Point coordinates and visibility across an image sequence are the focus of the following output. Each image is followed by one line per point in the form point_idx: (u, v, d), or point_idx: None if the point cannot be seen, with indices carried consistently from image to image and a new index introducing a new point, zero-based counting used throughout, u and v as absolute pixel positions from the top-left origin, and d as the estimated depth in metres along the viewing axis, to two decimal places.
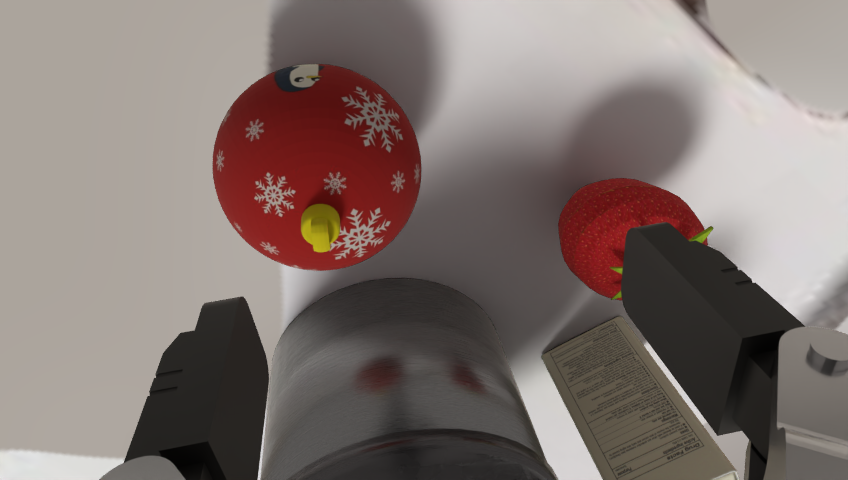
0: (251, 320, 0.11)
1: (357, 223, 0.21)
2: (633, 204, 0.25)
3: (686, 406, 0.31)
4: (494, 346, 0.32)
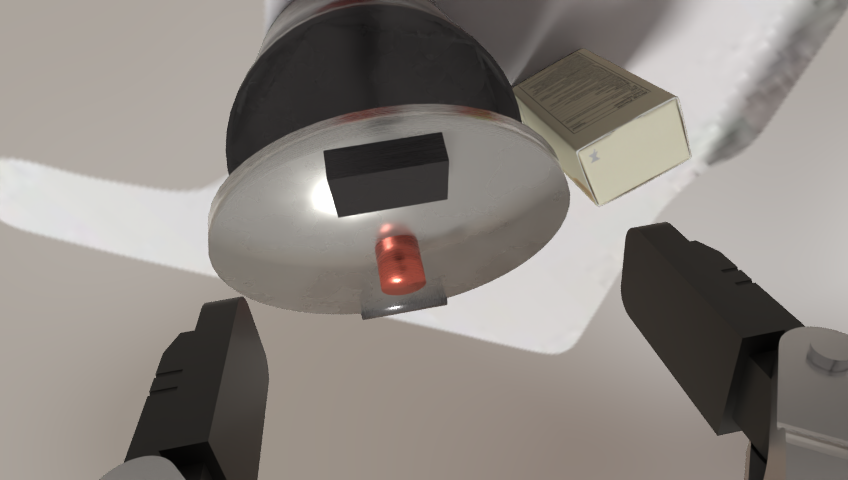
0: (251, 320, 0.11)
1: None
2: None
3: (637, 77, 0.33)
4: None
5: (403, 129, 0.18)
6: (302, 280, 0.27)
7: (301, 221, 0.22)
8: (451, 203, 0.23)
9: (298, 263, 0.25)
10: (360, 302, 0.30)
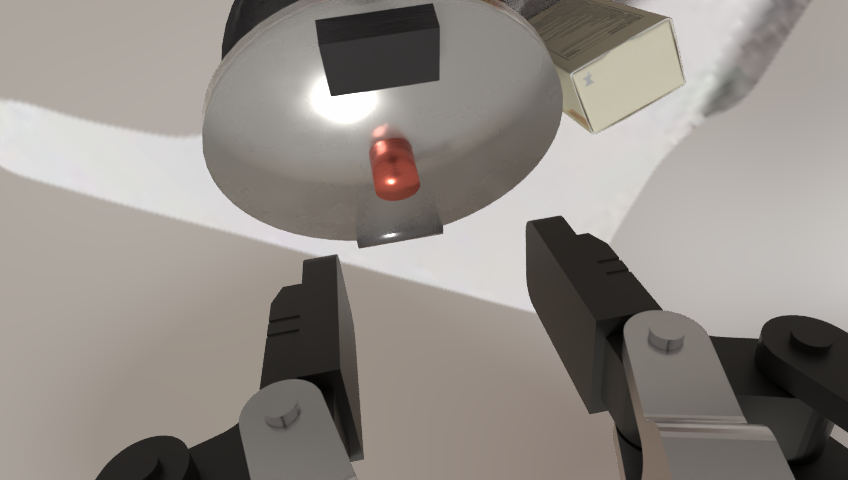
0: (342, 277, 0.12)
1: None
2: None
3: (631, 7, 0.33)
4: None
5: None
6: (297, 192, 0.27)
7: (294, 113, 0.22)
8: (444, 99, 0.23)
9: (293, 168, 0.25)
10: (356, 225, 0.30)
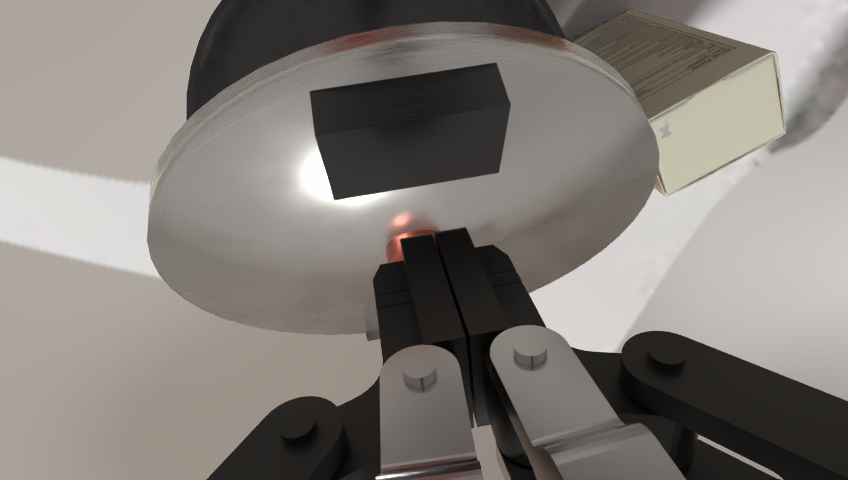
0: None
1: None
2: None
3: (712, 33, 0.26)
4: None
5: (437, 57, 0.12)
6: (288, 292, 0.20)
7: (281, 209, 0.15)
8: (496, 184, 0.16)
9: (281, 269, 0.18)
10: (365, 319, 0.24)
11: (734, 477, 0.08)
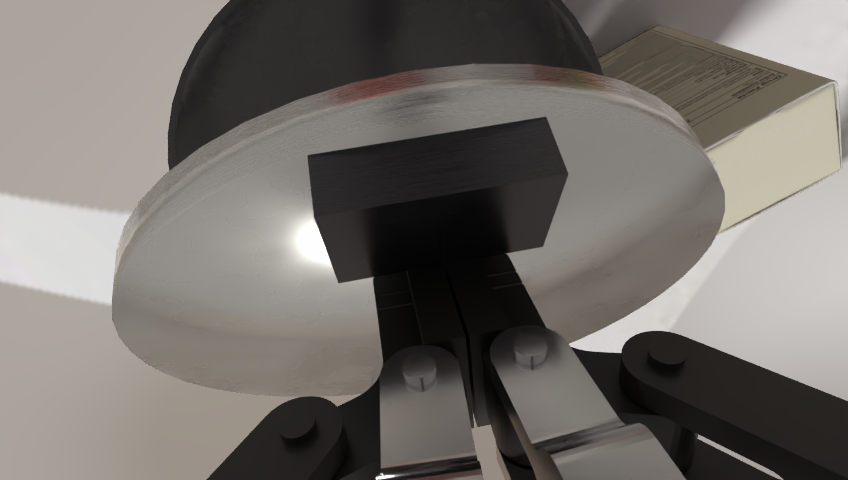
0: None
1: None
2: None
3: (757, 56, 0.24)
4: None
5: (472, 112, 0.09)
6: (284, 361, 0.17)
7: (274, 281, 0.13)
8: None
9: (275, 339, 0.16)
10: (371, 381, 0.21)
11: (734, 477, 0.08)
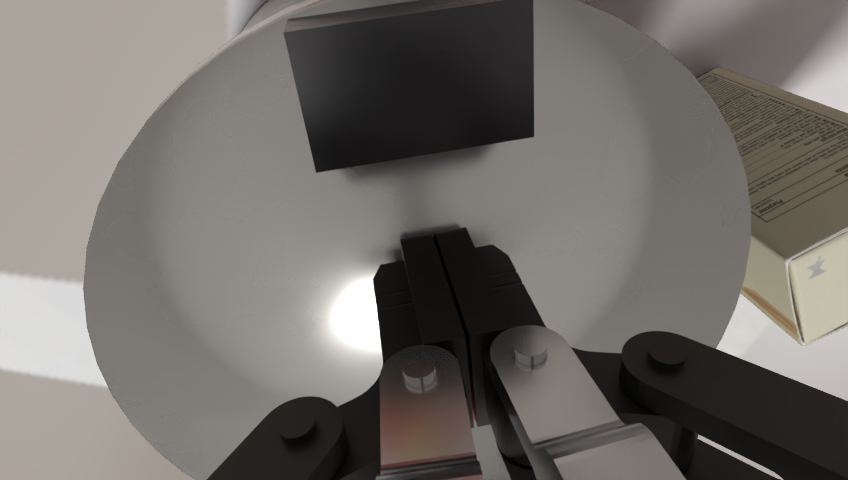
0: None
1: None
2: None
3: None
4: None
5: None
6: None
7: (259, 240, 0.12)
8: (537, 214, 0.12)
9: (261, 368, 0.14)
10: None
11: (734, 477, 0.08)
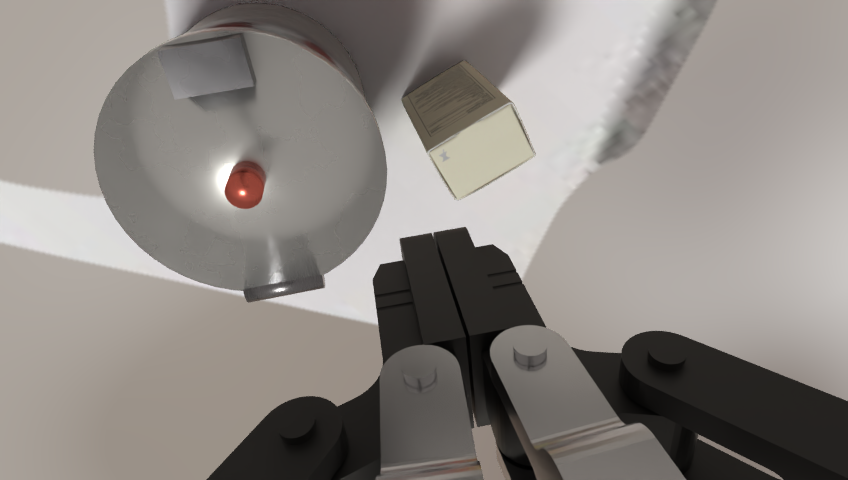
0: None
1: None
2: None
3: (492, 85, 0.37)
4: (339, 50, 0.39)
5: (216, 31, 0.28)
6: (178, 221, 0.33)
7: (162, 131, 0.30)
8: (277, 121, 0.31)
9: (169, 191, 0.32)
10: (238, 269, 0.35)
11: (734, 477, 0.08)
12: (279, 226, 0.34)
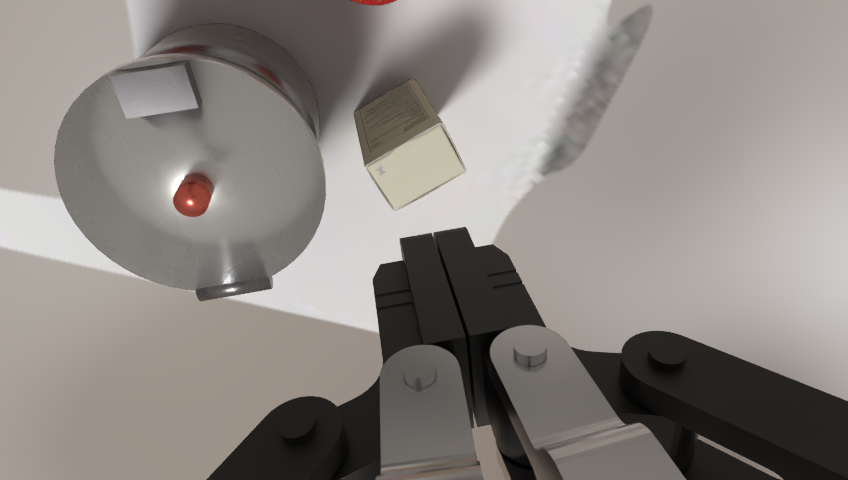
0: None
1: None
2: None
3: (429, 105, 0.41)
4: (290, 69, 0.42)
5: (164, 58, 0.31)
6: (133, 226, 0.36)
7: (116, 145, 0.33)
8: (222, 138, 0.34)
9: (124, 200, 0.35)
10: (190, 270, 0.38)
11: (734, 477, 0.08)
12: (227, 232, 0.37)
